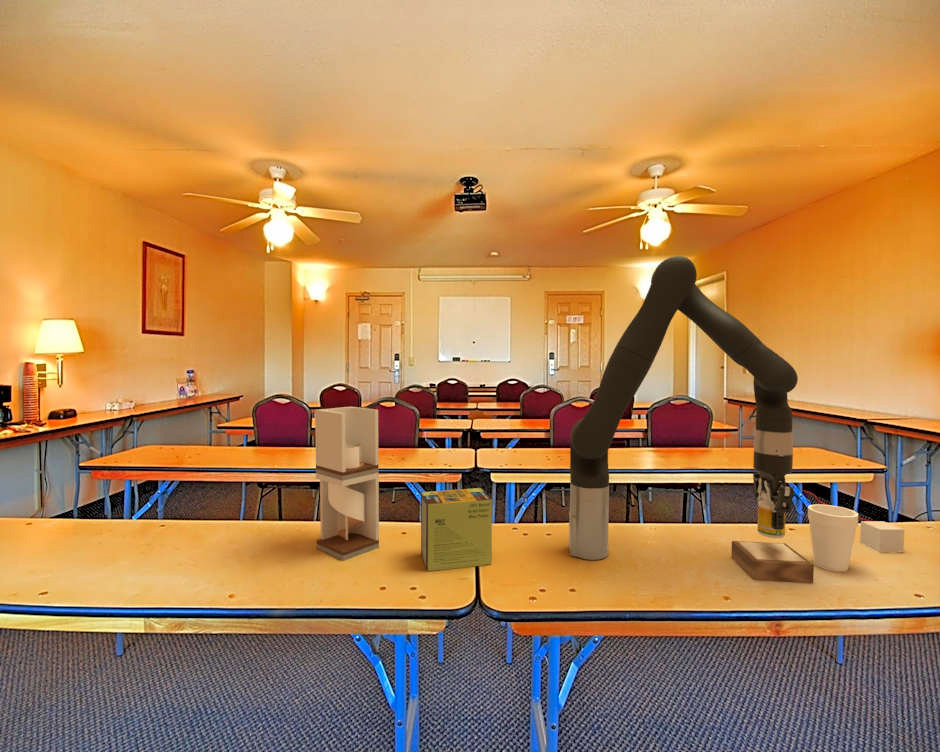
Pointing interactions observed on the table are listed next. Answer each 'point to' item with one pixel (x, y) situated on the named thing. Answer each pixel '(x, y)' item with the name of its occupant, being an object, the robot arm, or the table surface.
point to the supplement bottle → (767, 519)
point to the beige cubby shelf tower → (348, 480)
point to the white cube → (882, 536)
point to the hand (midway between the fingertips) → (771, 523)
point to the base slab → (772, 562)
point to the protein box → (456, 529)
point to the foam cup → (832, 535)
